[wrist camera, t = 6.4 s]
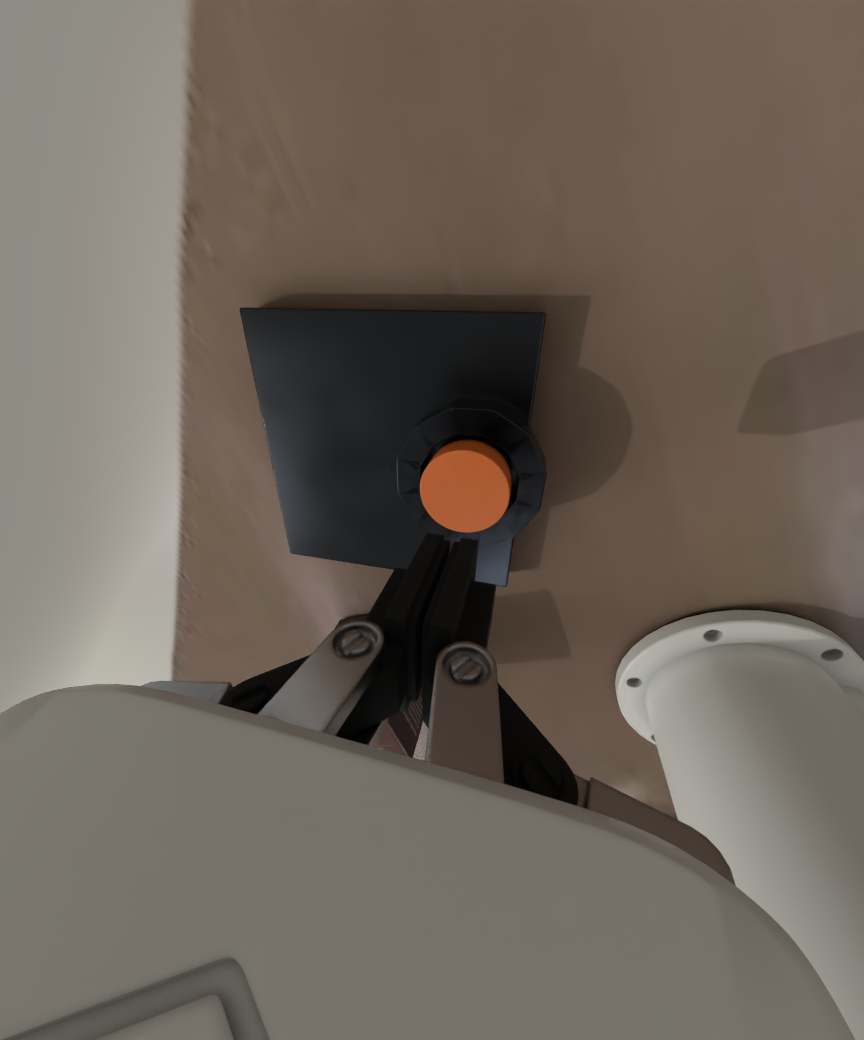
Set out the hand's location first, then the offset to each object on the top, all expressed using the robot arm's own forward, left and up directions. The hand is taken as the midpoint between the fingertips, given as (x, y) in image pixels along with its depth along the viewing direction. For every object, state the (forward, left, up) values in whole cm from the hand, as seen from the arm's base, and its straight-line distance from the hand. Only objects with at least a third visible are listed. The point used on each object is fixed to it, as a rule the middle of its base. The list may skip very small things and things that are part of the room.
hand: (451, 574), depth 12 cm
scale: (+5, 0, -9) cm, 11 cm away
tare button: (0, 0, -7) cm, 7 cm away
